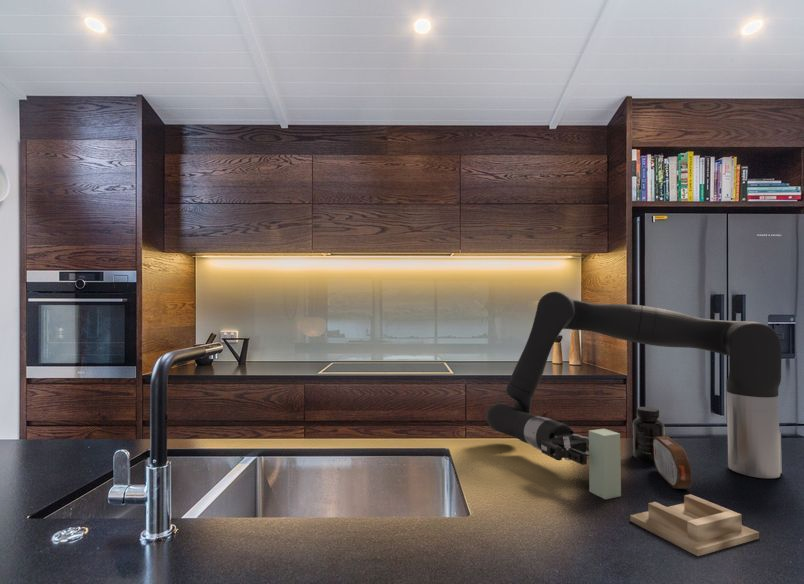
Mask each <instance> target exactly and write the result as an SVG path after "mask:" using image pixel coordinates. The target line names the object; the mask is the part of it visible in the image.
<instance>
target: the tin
mask: <svg viewBox="0 0 804 584" xmlns="http://www.w3.org/2000/svg"><path fill="white" fill-rule="evenodd" d="M653 449H654V461H655V463H654V465H655V467H656V471H657V472H658V474H659V475H660V476H661V477H662V478H663V479H664V480H665V481H666V482H667V483H668V484H669V485H670V487H671V488H673V489H677V490H678V489H679V490H690V488H691V487H692V481H693V479H692V475H693V474H692V468H691V463H690V460H689V457H688V455H687V453H686V450H685V449H684V448H683V447H682V446H681V444H679V443H677V442H676V441H675V440H674V439H673V438H671V437H670V436H668V435H666V436H665V437H655V438H654V439H653Z"/></svg>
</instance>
